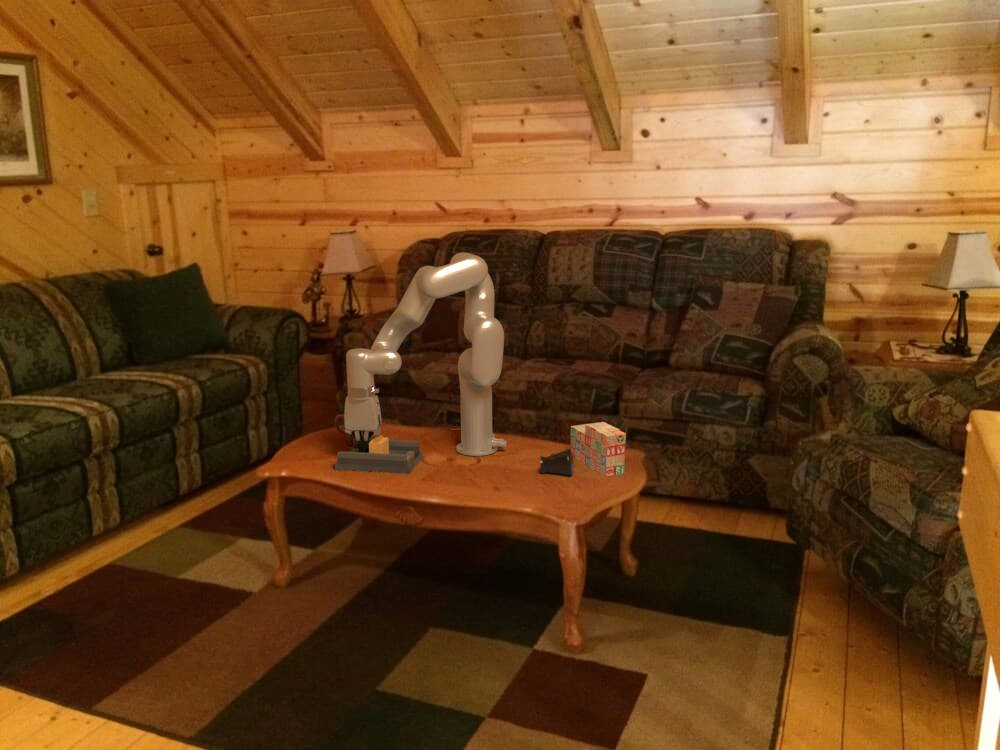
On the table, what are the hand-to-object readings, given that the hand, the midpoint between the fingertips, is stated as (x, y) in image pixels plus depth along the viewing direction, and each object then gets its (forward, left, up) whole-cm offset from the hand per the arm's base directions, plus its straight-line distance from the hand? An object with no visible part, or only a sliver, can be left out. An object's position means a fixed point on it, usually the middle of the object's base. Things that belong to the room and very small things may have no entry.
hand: (364, 452), depth 248 cm
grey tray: (-5, 0, -1) cm, 5 cm away
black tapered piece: (-57, -5, -4) cm, 57 cm away
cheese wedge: (-5, 0, -1) cm, 5 cm away
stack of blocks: (-67, -9, -4) cm, 68 cm away
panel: (-5, 0, -3) cm, 6 cm away
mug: (+9, -17, -3) cm, 19 cm away
